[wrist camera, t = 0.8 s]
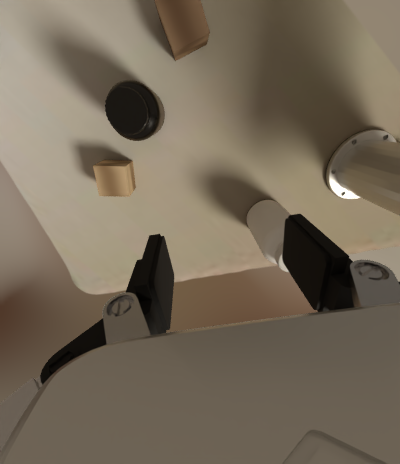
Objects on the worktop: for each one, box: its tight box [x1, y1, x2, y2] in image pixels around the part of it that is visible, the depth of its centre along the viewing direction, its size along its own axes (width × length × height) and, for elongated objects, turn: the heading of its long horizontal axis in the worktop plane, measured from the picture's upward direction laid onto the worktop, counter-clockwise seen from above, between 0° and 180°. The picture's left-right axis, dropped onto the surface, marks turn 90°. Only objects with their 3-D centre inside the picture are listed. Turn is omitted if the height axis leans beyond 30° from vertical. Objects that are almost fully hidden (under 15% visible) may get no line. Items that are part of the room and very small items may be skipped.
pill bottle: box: [247, 200, 291, 272], centre depth 38 cm, size 8×8×15 cm
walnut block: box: [154, 0, 210, 61], centre depth 27 cm, size 5×5×5 cm
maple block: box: [93, 160, 136, 197], centre depth 36 cm, size 5×5×5 cm
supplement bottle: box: [105, 80, 165, 141], centre depth 29 cm, size 7×7×12 cm
